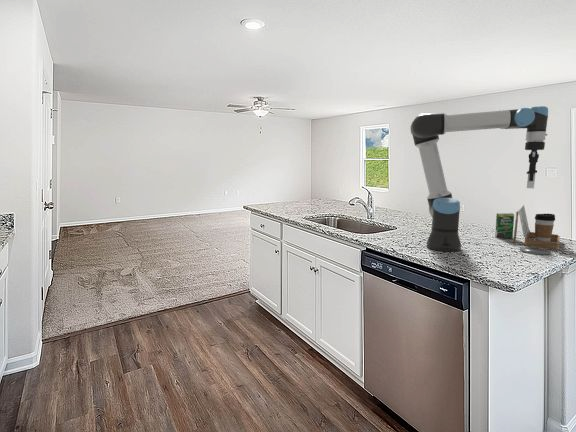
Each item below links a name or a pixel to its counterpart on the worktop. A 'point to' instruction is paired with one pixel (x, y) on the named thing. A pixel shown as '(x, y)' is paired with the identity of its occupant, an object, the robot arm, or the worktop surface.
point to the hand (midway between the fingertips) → (530, 187)
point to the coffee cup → (544, 226)
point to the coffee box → (504, 225)
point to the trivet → (535, 250)
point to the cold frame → (533, 234)
